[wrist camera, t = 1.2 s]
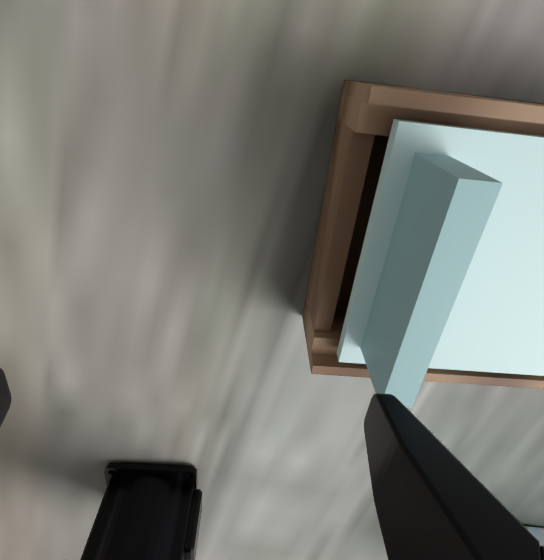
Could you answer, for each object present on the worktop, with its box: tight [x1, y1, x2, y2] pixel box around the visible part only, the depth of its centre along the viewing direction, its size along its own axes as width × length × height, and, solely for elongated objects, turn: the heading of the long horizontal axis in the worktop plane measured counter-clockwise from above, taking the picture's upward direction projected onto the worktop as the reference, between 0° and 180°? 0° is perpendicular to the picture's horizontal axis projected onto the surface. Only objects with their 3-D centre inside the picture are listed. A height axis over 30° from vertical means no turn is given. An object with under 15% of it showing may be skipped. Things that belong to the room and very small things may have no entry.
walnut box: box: [302, 80, 544, 389], centre depth 17 cm, size 18×12×5 cm, turn 84°
